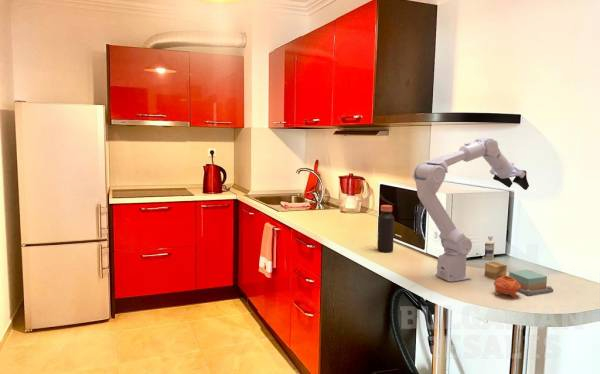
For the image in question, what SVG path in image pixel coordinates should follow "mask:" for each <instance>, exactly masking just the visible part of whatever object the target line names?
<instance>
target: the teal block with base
mask: <svg viewBox="0 0 600 374" xmlns="http://www.w3.org/2000/svg"><path fill="white" fill-rule="evenodd" d="M508 273H509V274H508V276H509V277H513V278H514V279H515V280H516V281H517V282H518V283H519V284H520V286H521V289H520V290H519V291H518V292H517V293H520V294H523V295H525V296H527V297H531V296H537V295H543V294H549V293H553V292H554V288H553V287H552V286H551V285H548V286H547V281H548V276H547V275H545V274H541V273H540V272H539V273H538V272H535V271H532V270H530V269H521V270H520V269H519V270H513V271H509V272H508Z"/></svg>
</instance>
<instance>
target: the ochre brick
mask: <svg viewBox="0 0 600 374" xmlns="http://www.w3.org/2000/svg"><path fill="white" fill-rule="evenodd" d="M507 267H508V265H507V264H505V263H501V262H498V261H491V262H485V263H484V277H486V278H489V279H491V280H493V279H494V281H495V280H496V279H498V278H500V277H502V276H507Z"/></svg>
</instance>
